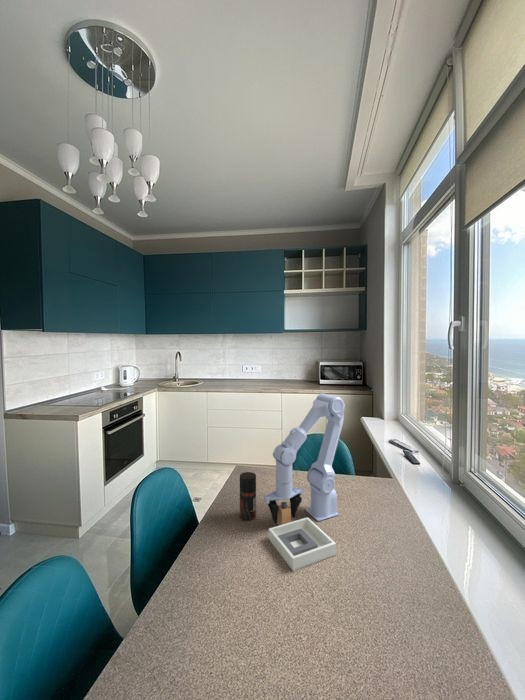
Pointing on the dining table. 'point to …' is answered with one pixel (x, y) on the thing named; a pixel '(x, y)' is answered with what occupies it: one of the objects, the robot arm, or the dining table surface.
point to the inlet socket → (297, 535)
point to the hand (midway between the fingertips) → (284, 518)
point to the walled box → (307, 558)
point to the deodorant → (247, 496)
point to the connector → (283, 514)
